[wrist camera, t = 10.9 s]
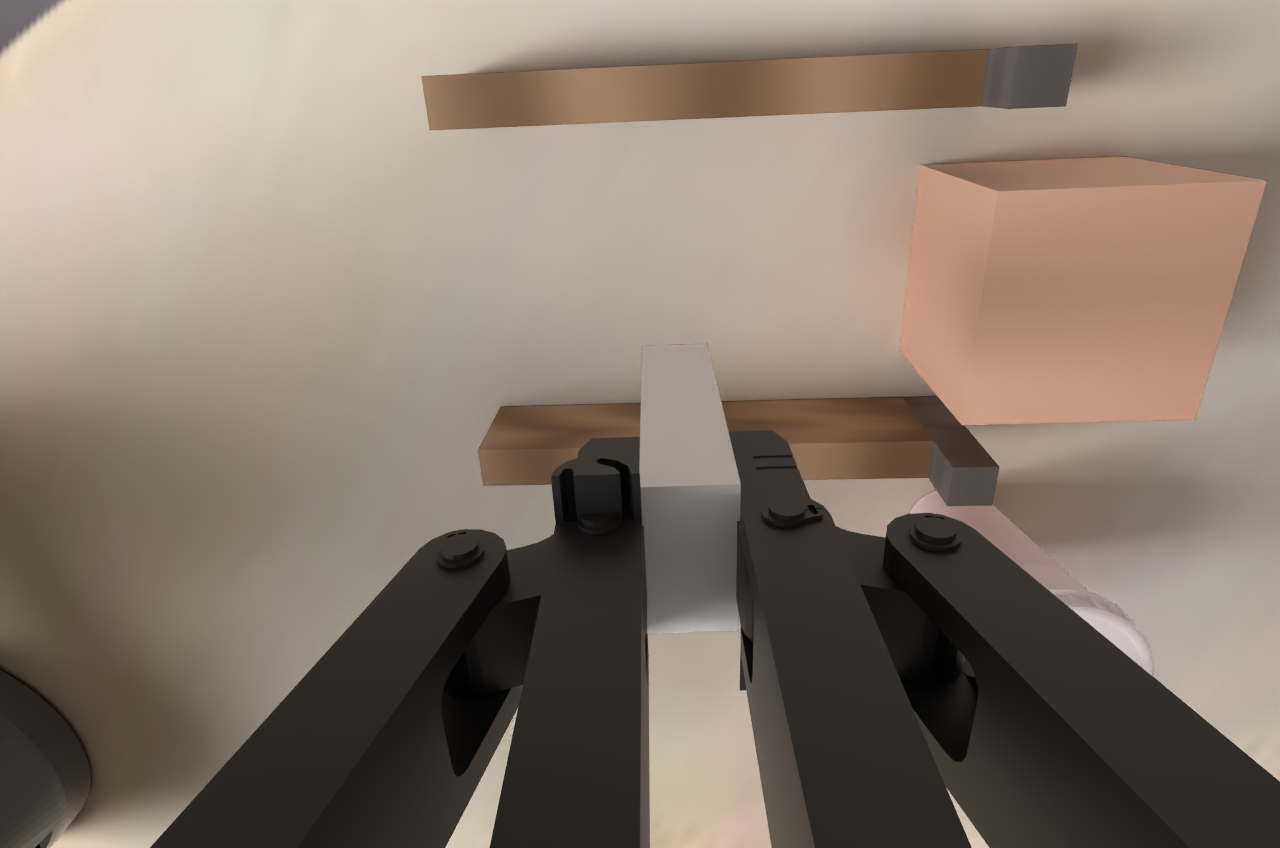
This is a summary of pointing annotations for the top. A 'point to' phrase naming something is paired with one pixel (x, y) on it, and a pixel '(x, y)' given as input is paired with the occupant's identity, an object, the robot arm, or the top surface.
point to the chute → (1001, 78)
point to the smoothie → (1047, 574)
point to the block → (1072, 286)
